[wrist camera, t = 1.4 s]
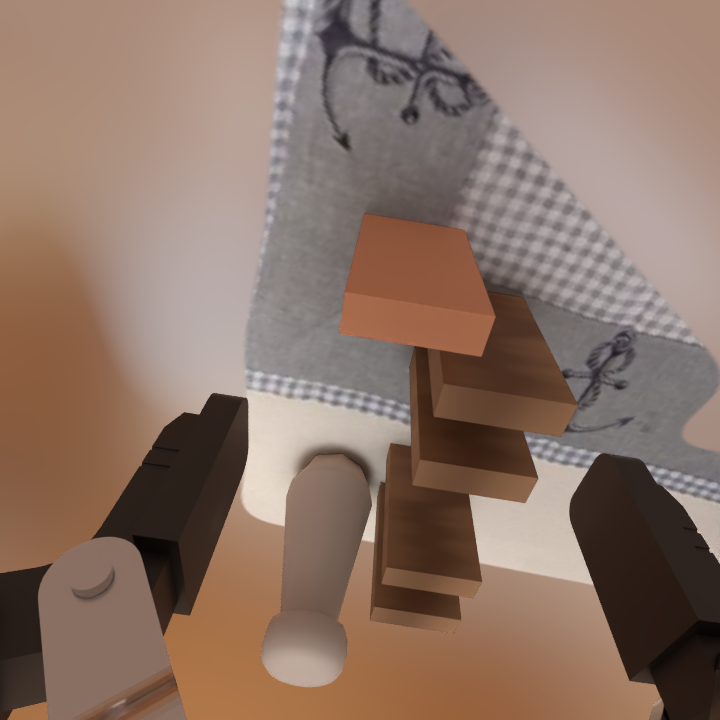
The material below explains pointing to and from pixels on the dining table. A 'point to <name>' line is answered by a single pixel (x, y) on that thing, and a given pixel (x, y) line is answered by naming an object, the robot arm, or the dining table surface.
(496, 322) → the domino
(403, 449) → the domino
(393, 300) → the domino
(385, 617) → the domino
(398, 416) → the dining table surface
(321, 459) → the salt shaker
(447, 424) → the domino
